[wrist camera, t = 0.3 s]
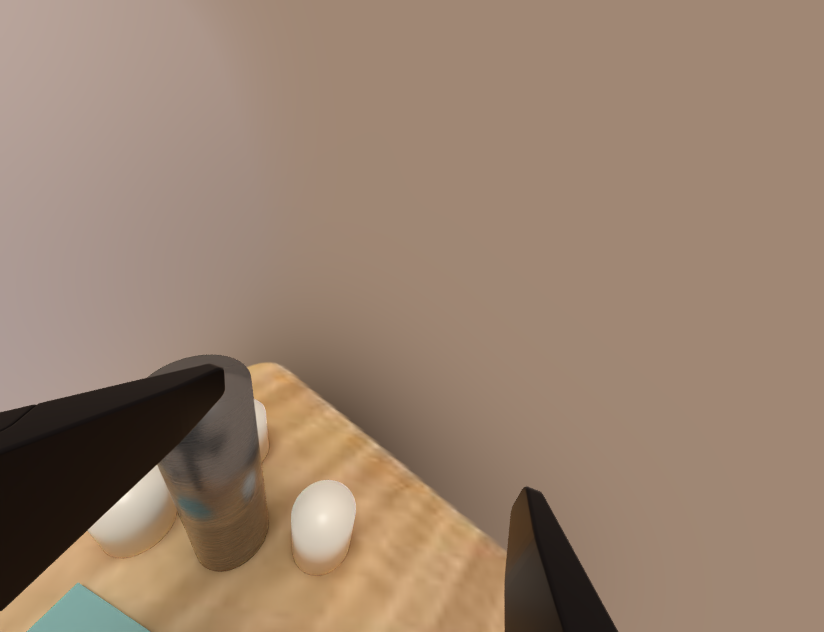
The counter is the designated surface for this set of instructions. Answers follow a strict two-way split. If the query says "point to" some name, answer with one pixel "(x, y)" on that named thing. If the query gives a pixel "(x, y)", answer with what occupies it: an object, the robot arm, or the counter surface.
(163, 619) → the counter surface
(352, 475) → the counter surface
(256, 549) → the dark metallic domed cylinder
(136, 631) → the teal pad
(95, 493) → the robot arm
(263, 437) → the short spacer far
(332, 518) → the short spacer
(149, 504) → the cylinder
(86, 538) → the counter surface
